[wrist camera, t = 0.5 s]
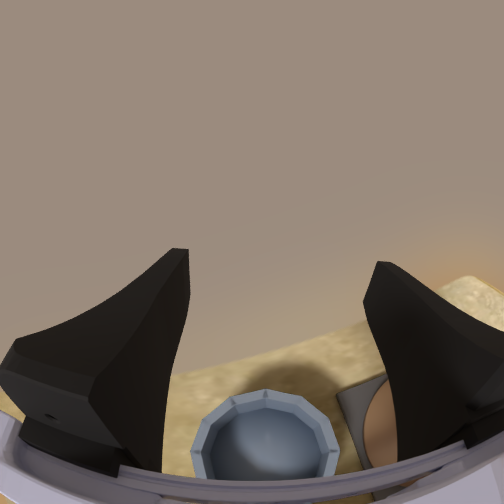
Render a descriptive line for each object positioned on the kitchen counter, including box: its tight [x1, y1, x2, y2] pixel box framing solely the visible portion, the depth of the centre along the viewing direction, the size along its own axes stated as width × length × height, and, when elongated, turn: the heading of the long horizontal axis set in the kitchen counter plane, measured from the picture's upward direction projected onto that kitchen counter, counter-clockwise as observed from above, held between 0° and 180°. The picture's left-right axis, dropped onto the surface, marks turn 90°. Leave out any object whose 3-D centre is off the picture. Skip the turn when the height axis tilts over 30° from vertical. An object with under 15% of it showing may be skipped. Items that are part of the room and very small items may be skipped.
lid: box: [362, 379, 432, 487], centre depth 19 cm, size 13×13×5 cm
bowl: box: [190, 389, 340, 504], centre depth 19 cm, size 11×11×4 cm
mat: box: [336, 374, 407, 502], centre depth 20 cm, size 14×14×1 cm
